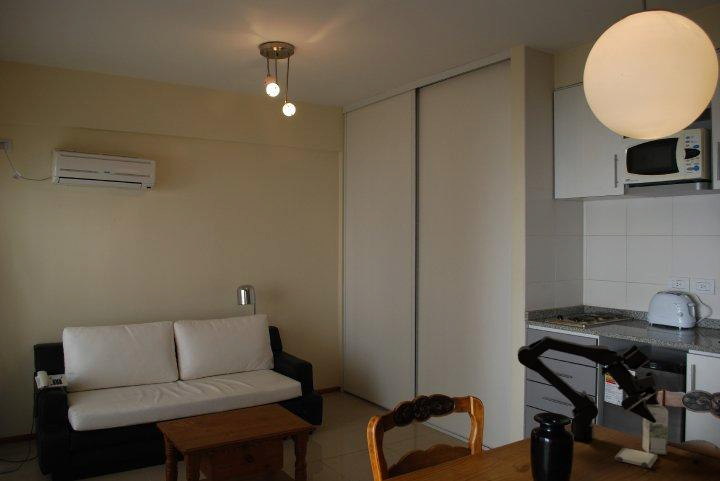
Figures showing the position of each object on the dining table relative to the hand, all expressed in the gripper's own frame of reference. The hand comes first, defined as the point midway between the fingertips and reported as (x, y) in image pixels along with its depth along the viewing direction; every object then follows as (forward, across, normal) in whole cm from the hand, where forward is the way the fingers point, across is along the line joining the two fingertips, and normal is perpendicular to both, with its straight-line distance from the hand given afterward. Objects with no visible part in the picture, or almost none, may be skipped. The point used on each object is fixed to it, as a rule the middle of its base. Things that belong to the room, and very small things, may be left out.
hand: (659, 419), depth 187 cm
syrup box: (+7, 0, +9) cm, 11 cm away
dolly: (+5, -11, +10) cm, 16 cm away
